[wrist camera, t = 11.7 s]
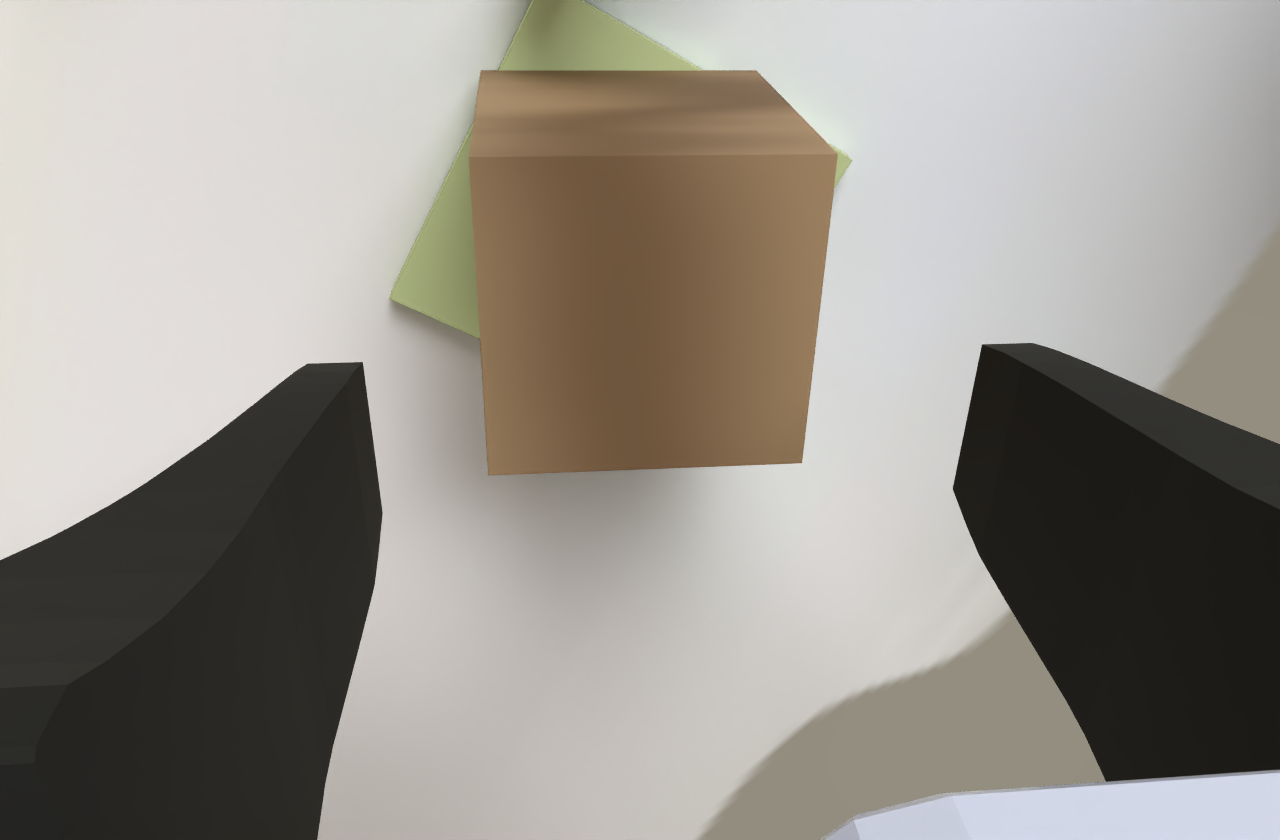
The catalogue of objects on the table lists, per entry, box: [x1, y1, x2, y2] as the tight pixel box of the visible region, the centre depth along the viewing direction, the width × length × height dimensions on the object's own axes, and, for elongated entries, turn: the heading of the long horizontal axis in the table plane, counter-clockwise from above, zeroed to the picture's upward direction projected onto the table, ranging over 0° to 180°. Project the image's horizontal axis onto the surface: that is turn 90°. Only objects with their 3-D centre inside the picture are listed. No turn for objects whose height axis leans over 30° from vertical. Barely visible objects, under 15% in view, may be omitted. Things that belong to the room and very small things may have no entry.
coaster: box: [390, 0, 852, 339], centre depth 18 cm, size 6×6×1 cm
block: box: [469, 70, 838, 475], centre depth 16 cm, size 4×4×5 cm
